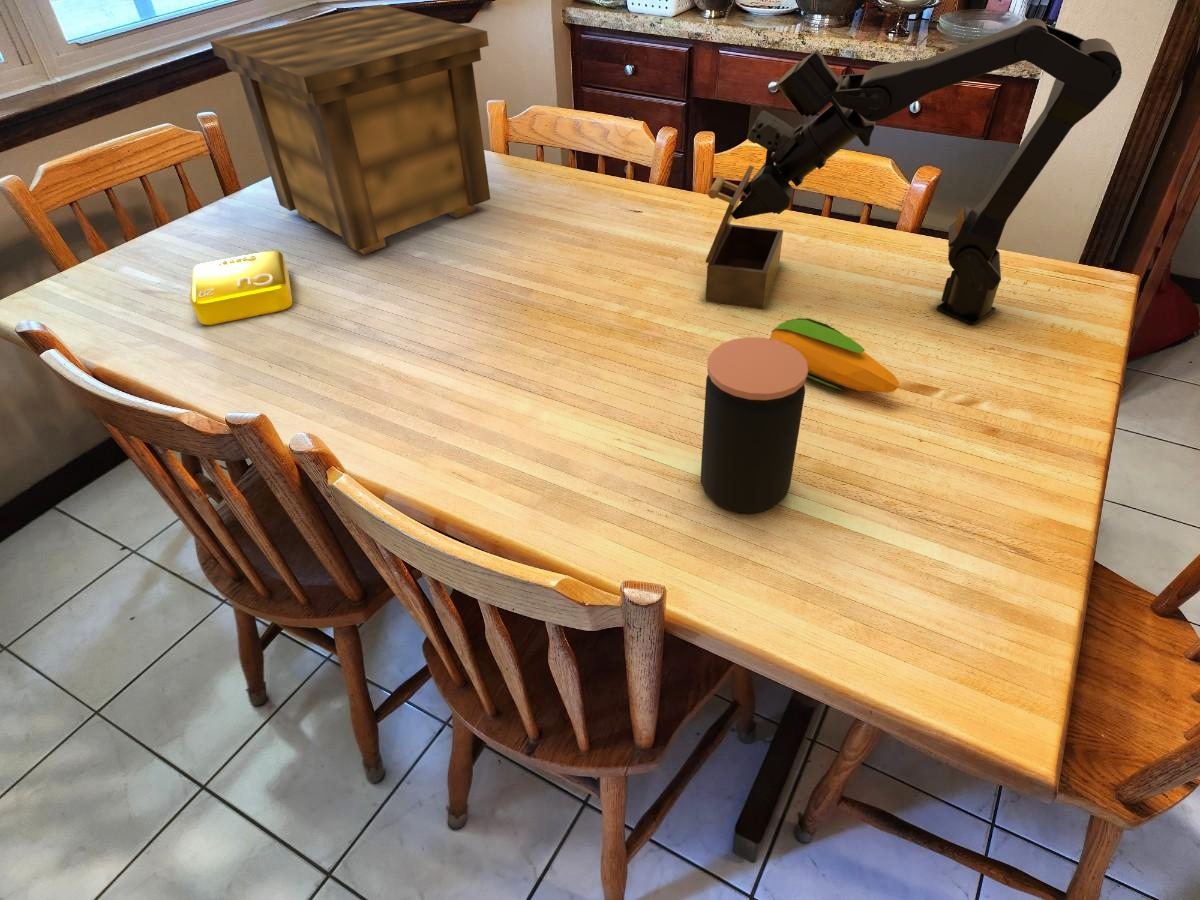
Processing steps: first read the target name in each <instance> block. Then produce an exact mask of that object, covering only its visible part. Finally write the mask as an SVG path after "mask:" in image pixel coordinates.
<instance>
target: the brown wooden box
mask: <svg viewBox="0 0 1200 900" xmlns="http://www.w3.org/2000/svg"><path fill="white" fill-rule="evenodd" d="M783 235H784V230H783V229H778V228H777V229H776V228H769V227H768V228H767V227H759V226H750V225H741V224H731V223H730V225H729V227H728V229H727V231H726V233H725V235H724V237H723V239H722V241H721V243H720V245H719V247H718V249H717V251H716V252H715V254H714V256H713V258H712V260H711V262H710V264H709V263H707V266H706V282H705V283H706V284H705V302H709V303H710V302H711V303H715V304H724V305H731V306H737V307H746V308H754V309H758V310H759V309H761V310H764V308H765V304H766V302H767V299H768V296H769V293H770V290H771V288H772V285H773V283H774V280H775V278H776V274H777V272H778V269H779V267H780V263H781V261H780V260H781V253H782V244H783V237H784V236H783Z"/></svg>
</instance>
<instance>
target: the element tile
mask: <svg viewBox="0 0 1200 900" xmlns="http://www.w3.org/2000/svg"><path fill="white" fill-rule="evenodd" d="M289 273H290V272H289V269H288V267H287V264H286V261H285V258H284V256H283V253H282V252H281V251H279V250H269V251H262V252H258V253H251V254H247V255H241V256H237V257H231V258H226V259H225V258H224V259H219V260H215V261H210V262H204V263H200V264H197V265H195V266H194V268H192V271H191V284H190V296H189V297H190V298H189V300H190V301H189V302H190V304H191V306H192V308H193V311H194V313H195V315H196V318H197V320H198V322H199V323H200V324H201V325H204V326H213V325H218V324H223V323H227V322H232V321H237V320H238V321H239V320H243V319H248V318H252V317H257V316H262V315H263V316H264V315H267V314H272V313H277V312H281V311H285V310H287V309H289V308H290V307H291V306H292V305H293V295H292V289H291V281H290V274H289Z"/></svg>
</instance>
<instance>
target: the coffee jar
mask: <svg viewBox="0 0 1200 900" xmlns="http://www.w3.org/2000/svg"><path fill="white" fill-rule="evenodd" d="M706 369H707V375H706V379H705V394H704V410H703V411H704V412H703V429H702V446H701V462H700V481H699V482H700V484H701V486H702V489H703V491H704V493H705V494H706V495H707V496H708V498H710V500H711V501H712V502H713V503H714V504H715V505H717V506H719V507H720V508H722V509H724V510H726V511H728V512H732V513H736V514H741V515H743V514H744V515H754V514H760V513H764V512H766V511H768V510H771V509H772V508H775V507H776V506H777V505H778V504H779V503H781V501H783V500H784V499H785V497H786V496H787V495H788V492H789V490H790V488H791V483H792V477H793V470H794V464H795V458H796V451H797V446H798V438H799V435H800V428H801V427H800V426H801V420H802V414H803V409H804V401H805V396H806V387H805V382H806V380H807V378H808V377H807V375H808V374H809V373H808V365H807V361H806V359H805V358H804V357H803V355H802V354H801V353H800V352H799V351H797V350H796V349H795V348H793V347H792V346H790V345H788V344H785V343H783V342H780V341H778V340H773V339H770V338H767V337H758V336H756V337H755V336H753V337H752V336H748V337H747V336H746V337H740V338H734V339H731V340H728V341H725V342H723V343H721V344H719V345H717V347H715V348H714V349H712V350H711V352H710V353H709V355H708V357H707V366H706Z"/></svg>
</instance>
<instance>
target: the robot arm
mask: <svg viewBox="0 0 1200 900" xmlns="http://www.w3.org/2000/svg"><path fill="white" fill-rule="evenodd" d="M1021 62H1028V63H1030V64H1032V65H1034V66H1035V67H1037V68H1039V69H1040V70H1042V71H1043V72H1045V73H1046V74H1048V75H1049V76H1051V77H1052V78H1054V81H1053V84H1052V87H1051V90H1050V93H1049V95H1048V99H1047V101H1046V104H1045V106H1044V108H1043V110H1042V112H1041V113H1040V115H1039V116H1038V117H1037V119H1036V121H1035V122H1034V123H1033V125H1032V127H1031V128H1030V130H1029V131H1028V133H1027V134H1026V136H1025V137H1024V138H1023V140H1022V142H1021V143H1020V144H1019V146H1018V148H1017V149H1016V151H1015V152H1014V154H1012V157H1011V158H1010V159H1009V161H1008V162H1007V164H1006V166H1005V167H1004V169H1002V171H1001V173H1000V174H999V176H998V178H997V179H996V181H995V182H994V184H993V185H992V187H991V188H990V190H989V191H988V192H987V194H986V196H985V197H984V199H982V201H981V202H980V203H978V204H977V205H976V206H974V207H973V208H970V207H969V206H967V205H963V206H962V208H961V210H960V212H959V214H958V216H957V218H956V220H955V221H954V222H953V223H952V224H950V225H948V239H947V240H948V241H947V246H948V253H947V260H948V263H949V266H950V267H951V268H952V271H951V274H950V276H949V277H947V278H946V281H945V285H944V288H943V292H942V296H941V299H940V300H941V303H939V304H938V305H937V306H936V309H935V310H936V311H938V312H940V313H943V314H946V316H947V315H948V316H950V317H952V318H954V319H956V320H959V321H961V322H963V323H965V324H968V325H970V326H974V325H976V324H977V323H979V322H981V321H983V320H984V319H986V318H987V317H989V316H991V315H993V314H994V313H995V312H996V310H997V308H996V307H995V306H993V305H994V301H995V298H996V295H997V292H998V289H999V286H1000V282H1001V280H1002V271H1001V256H1000V255H1001V254H1000V251H999V250H998V249H997V247H998V245H999V242H1000V240H1001V237H1002V234H1003V232H1004V230H1005V226H1006V224H1007V221H1008V219H1009V218H1010V217H1011V215H1012V213H1013V212H1015V209H1016V208H1017V207H1018V205H1019V204H1020V202H1021V201H1022V199H1023V198H1024V197H1025V195H1026V194H1027V193H1028V191H1029V190H1030V188H1031V187H1032V185H1033V184H1034V182H1035V181H1036V180H1037V178H1038V176H1039V175H1040V173H1042V171H1043V170H1044V168H1045V167H1046V166H1047V164H1048V162H1049V161H1050V159H1051V158H1052V157H1053V155H1054V154H1055V152H1056V151H1057V150H1058V148H1059V147H1060V145H1061V144H1062V142H1063V141H1064V139H1066V137H1067V136H1068V134H1069V133H1070V131H1071V130H1072V128H1073V127H1074V126H1076V124H1078V123H1079V122H1080V121H1082V120H1083V119H1084V118H1085V117H1087V116H1088V115H1089V114H1090V113H1092V112H1093V111H1094V110H1095V109H1096V108H1097V107H1098V106H1099V105H1100V104H1101V103H1102V102H1103V101H1104V100H1105V99H1106V98H1107V97H1108V96H1109V95H1110V94H1111V93H1112V91H1114V89H1115V88H1116V87H1117V86H1118V83H1119V82H1120V81H1121V78H1122V73H1123V69H1122V68H1123V67H1122V62H1121V60H1120V58H1119V56H1118V54H1117V52H1116V50H1115V48H1114V47H1113V45H1112V43H1110V42H1109V41H1107V40H1106V39H1104V38H1100V37H1099V38H1098V37H1095V38H1088V39H1084V38H1082V37H1079V36H1077V35H1075V34H1073V33H1072V32H1068V31H1066V30H1063V29H1060V28H1057V27H1054V26H1052V25H1049V24H1048V23H1045V21H1043V20H1041V19H1039V18H1033V17H1032V18H1028V19H1025V20H1023V21H1022V22H1020V23H1018V24H1017V25H1015V26H1012V27H1009V28H1006V29H1003V30H1000V31H998V32H995V33H993V34H989V35H986V36H984V37H982V38H979V39H976V40H974V41H971V42H970V41H969V42H968V43H965V44H962V45H960V46H957V47H954V48H951V49H948V50H946V51H943V52H940V53H939V54H938V53H937V54H935V55H932V56H930V57H926V58H922V59H917V60H900V61H895V62H889V63H885V64H880V65H876V66H873V67H872V68H869V69H868V70H867V71H866V72H863V73H853V74H851V73H850V74H841V75H839V77H838V76H837V74H835V72H834V71H833V69H832V68H831V67H830V66H829V65H828V63H827V62H826V59H825V58H824V56H823V53H821V52H820V50H819V49H815V50H814V51H813V52H812V53H811V54H809V55H807V56H806V57H804V58H803V59H802V60H801V61H800V60H798V61H797V62H796V63H795V64H794V65H793V66H792V67H791V68H790V69H788V71H787V72H786V73H785V74H784V75H782V77H781V78H780V79H779V80H778V81H777V83H776V84H775V86H776V87H777V89H778V90H779V91H780V92H781V93H782V94H783V96H784V97H785V98H786V99H787V101H788V102H789V103H790V105H791V106H792V107H793V108H794V109H795V111H796V112H797V113H798V114H799V116H800V117H802V116H805V117H806V118H808V117H814V116H815V115H817V116H816V117H814V119H813V120H811V121H810V122H809V123H804V124H802V123H801V124H800V125H798V126H797V127H795V128H794V127H792V126H790V125H789V124H788V123H787V122H786V121H784V120H782V119H780V118H778V117H777V116H775V115H773V114H771V113H770V112H768V111H766V110H761V111H760V113H759V115H758V116H757V118H756V120H755V121H754V124H753V125H752V127H751V128H750V130H749V132H748V134H747V136H746V137H747V140H748V141H749V142H751V143H752V144H757V145H759V146H760V147H762V148H764V149H765V150H766V154H765V162H764V164H763V165H762V166H761V167H760V168H759V170H758V171H757V173H756V174H754V176H753V178H751V180H750V181H749V182H748V183H747V185H746V187H745V189H744V192H743V194H745V195H746V196H745V197H744V198H743V200H742V201H741V202H739V204H738V206H737V208H736V209H735V210H734V211H733V212H732V214H731V215H732V216H733V218H732V219H734V220H739V219H744V218H750V217H753V216H758V215H764V214H766V215H767V214H771V213H772V214H774V215H775V214H776V215H781V213H783V212H784V211H786V210H787V209H789V208H790V205H791V203H792V201H793V197H794V190H795V189H794V188H793V186H792V185H791V184H790V182H792V183H793V184H794V186H795V187H799V186H800V185H801V184H802V183H803V182H804V179H805V177H807V176H808V175H809V174H810V173H812V172H813V171H814V170H816V169H818V170H821V169H822V168H823V167H824V166H825V165H826V163H827V160H829V159H830V158H831V157H833V156H834V155H835V154H837V153H838V152H839V151H840V150H842V149H843V148H844V147H845V146H847V145H848V144H849V143H850V142H852V141H853V140H854V139H856V138H858V140H860V142H861V143H862V144H863V146H864V147H869V146H870V145H871V141H872V136H873V132H874V130H875V127H876V122H881V121H884V120H886V119H888V118H890V117H892V116H893V115H896V114H898V113H899V112H901V111H903V110H905V109H907V108H908V107H911V105H913V104H915V102H917V101H919V100H920V99H922V98H923V97H925V96H927V95H929V94H931V93H933V92H936V91H939V90H942V89H946V88H948V87H951V86H954V85H957V84H960V83H962V82H965V81H969V80H971V79H975V78H977V77H980V76H983V75H986V74H989V73H991V72H994V71H997V70H1000V69H1003V68H1006V67H1009V66H1013V65H1015V64H1018V63H1021ZM830 103H831V105H829V104H830ZM828 105H829V106H828ZM826 106H828V107H827V108H826V109H825V107H826ZM823 109H824V110H823ZM822 110H823V112H821V111H822ZM819 112H821V113H820V114H819V115H818V113H819Z"/></svg>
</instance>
